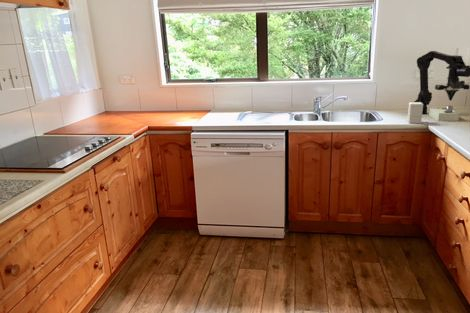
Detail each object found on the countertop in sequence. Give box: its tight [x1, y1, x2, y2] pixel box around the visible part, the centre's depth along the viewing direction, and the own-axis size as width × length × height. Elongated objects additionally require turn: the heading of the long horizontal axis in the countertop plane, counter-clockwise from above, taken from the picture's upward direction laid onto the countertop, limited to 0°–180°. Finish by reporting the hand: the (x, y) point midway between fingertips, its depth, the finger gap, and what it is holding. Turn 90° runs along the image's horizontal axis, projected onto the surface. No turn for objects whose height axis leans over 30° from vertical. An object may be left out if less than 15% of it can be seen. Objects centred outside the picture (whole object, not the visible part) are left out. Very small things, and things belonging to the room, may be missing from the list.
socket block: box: [428, 107, 460, 122], centre depth 246 cm, size 12×20×5 cm, turn 169°
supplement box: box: [406, 101, 423, 124], centre depth 235 cm, size 7×7×13 cm
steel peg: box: [445, 105, 454, 113], centre depth 239 cm, size 4×4×5 cm
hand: (450, 100), depth 238 cm, fingers closed
